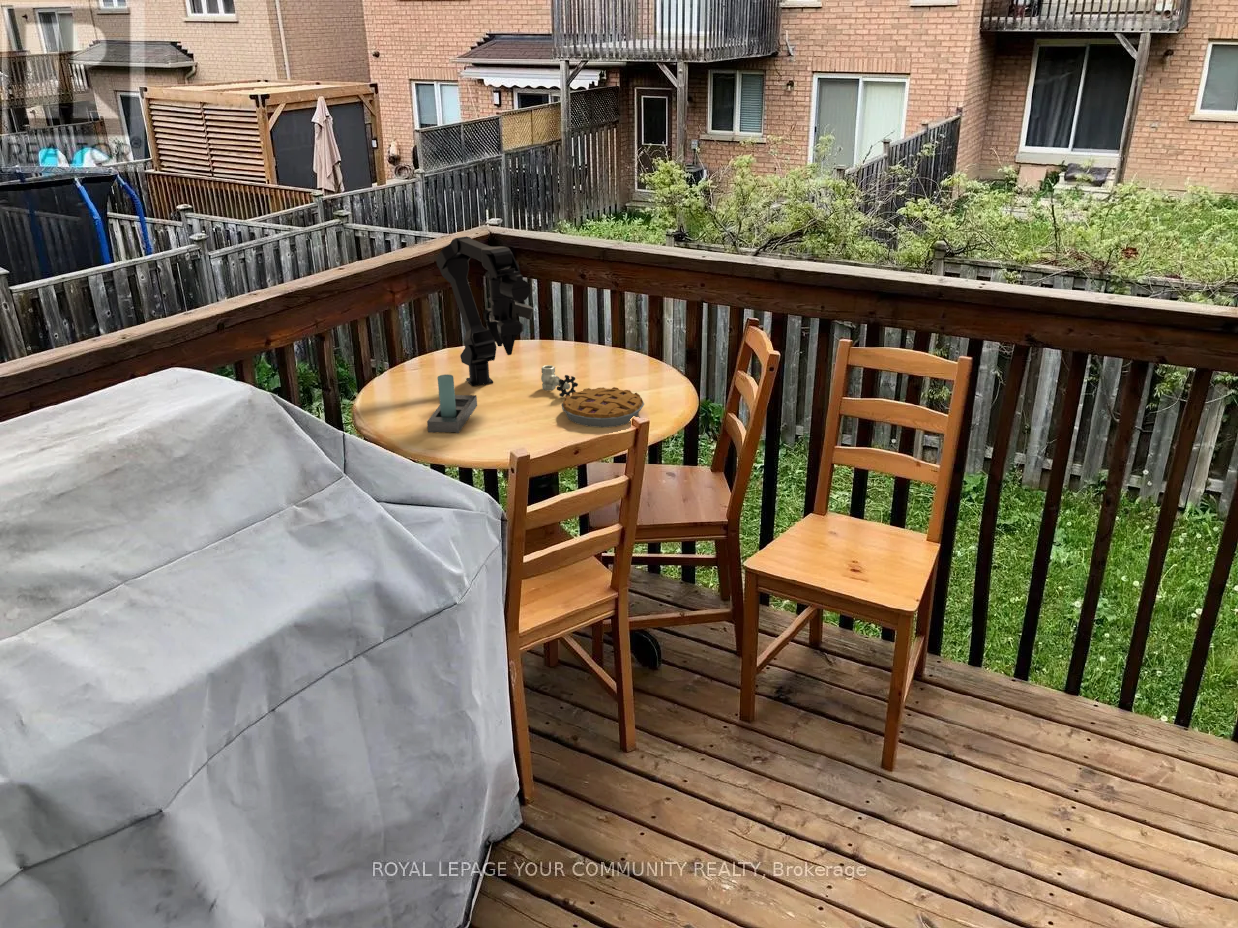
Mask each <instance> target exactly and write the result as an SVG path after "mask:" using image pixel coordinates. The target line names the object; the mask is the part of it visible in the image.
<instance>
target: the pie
mask: <svg viewBox="0 0 1238 928" xmlns="http://www.w3.org/2000/svg"><path fill="white" fill-rule="evenodd" d="M565 396H566V395H565ZM565 396H564V400H563V401H562V403H561V404H560V405H561V409H562V411H563V412H564V413H565V415H566V417H567V419H568V420H569V421H571V422H572V423H575V424H578V425H583V426H584V427H585V426H586V427H593V428H613V427H614V428H615V427H620V426H623V425H626V424H629V423H630V422H629V421H630V419H631V418H632V417H633V416H636V417H637V416H638V415H639V413H640V411H642V408H643V407H644V406H645V403H644V400H643V398H642V397H641V395H640V394H639V393H637V392H635V393H633V392H632V391H631V390H630V389H623V390H622V389H619V387H615V386H614V387H612V388H606V387H596V388H590V387H588V388H587V387H586V388H583V390H580V391H576V392H572V393H571V394H570V396H566V397H565Z"/></svg>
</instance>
